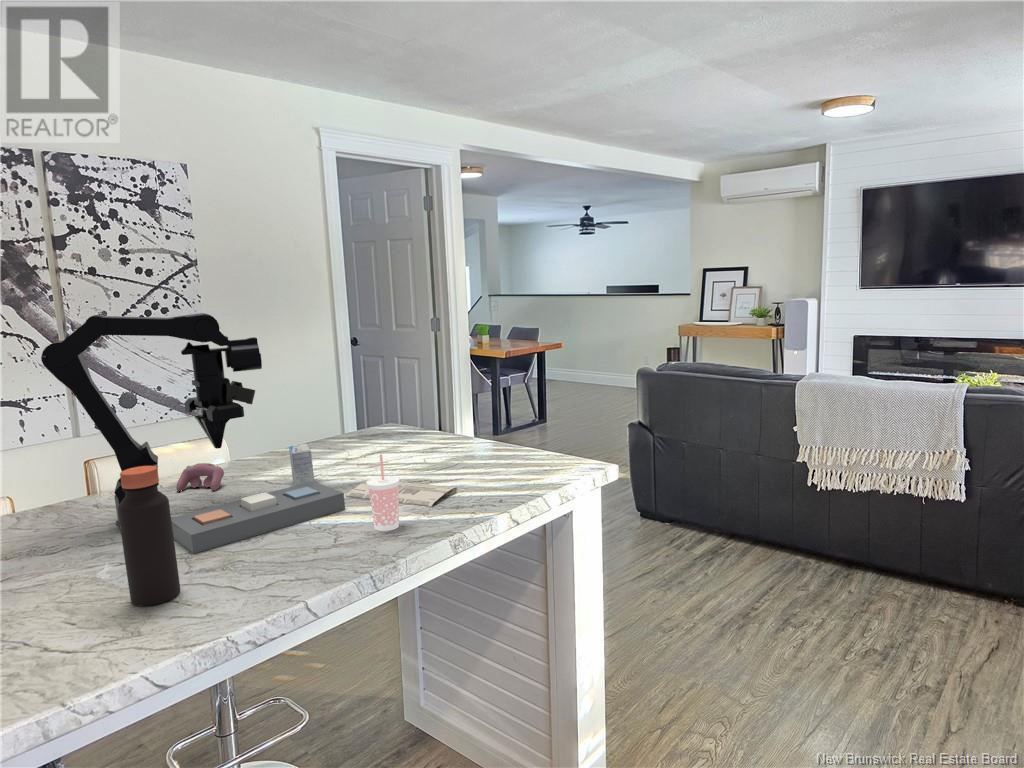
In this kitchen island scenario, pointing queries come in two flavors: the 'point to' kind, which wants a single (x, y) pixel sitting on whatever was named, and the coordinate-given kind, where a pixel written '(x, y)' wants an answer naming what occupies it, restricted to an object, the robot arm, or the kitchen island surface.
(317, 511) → the key panel
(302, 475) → the medicine box
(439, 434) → the kitchen island surface
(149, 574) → the bottle
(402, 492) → the newspaper
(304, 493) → the slate blue key
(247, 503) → the offwhite key
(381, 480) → the beverage cup
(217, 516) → the terracotta key
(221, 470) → the video game controller
